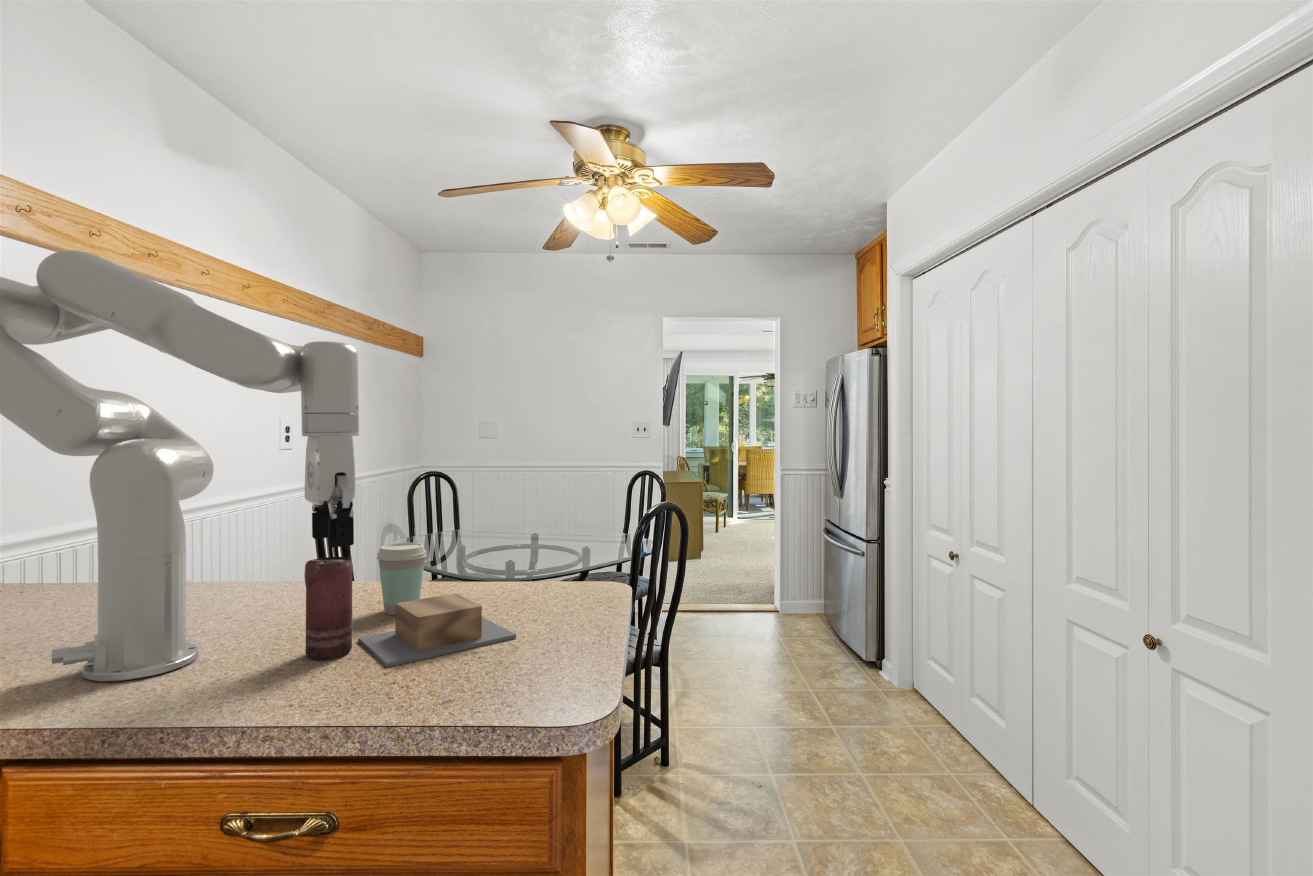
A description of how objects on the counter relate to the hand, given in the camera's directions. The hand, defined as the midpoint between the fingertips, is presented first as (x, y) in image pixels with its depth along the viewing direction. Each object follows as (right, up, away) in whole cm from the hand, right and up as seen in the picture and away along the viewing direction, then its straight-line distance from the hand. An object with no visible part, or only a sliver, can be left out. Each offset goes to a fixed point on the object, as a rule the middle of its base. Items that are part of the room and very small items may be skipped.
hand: (332, 541), depth 93 cm
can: (-1, -17, 0) cm, 17 cm away
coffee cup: (+1, -17, +23) cm, 28 cm away
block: (+13, -16, +7) cm, 22 cm away
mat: (+13, -17, +7) cm, 22 cm away
